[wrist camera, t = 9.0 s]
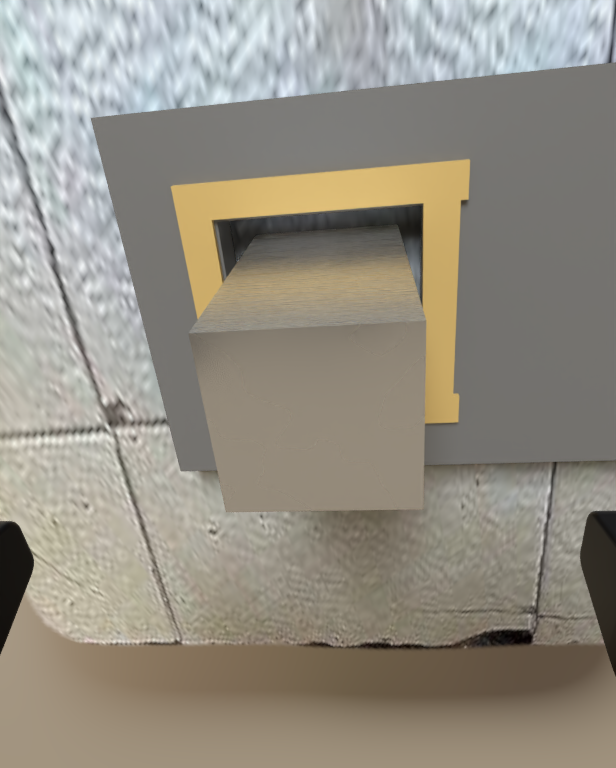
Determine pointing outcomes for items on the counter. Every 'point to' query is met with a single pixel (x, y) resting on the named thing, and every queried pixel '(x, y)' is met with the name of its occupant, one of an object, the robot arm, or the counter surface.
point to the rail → (438, 240)
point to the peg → (316, 374)
